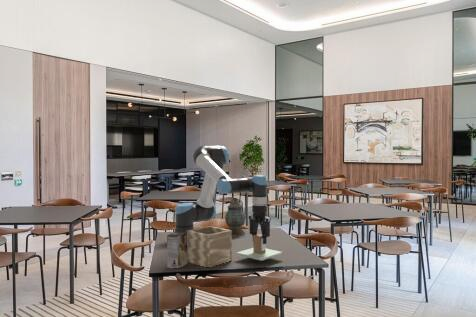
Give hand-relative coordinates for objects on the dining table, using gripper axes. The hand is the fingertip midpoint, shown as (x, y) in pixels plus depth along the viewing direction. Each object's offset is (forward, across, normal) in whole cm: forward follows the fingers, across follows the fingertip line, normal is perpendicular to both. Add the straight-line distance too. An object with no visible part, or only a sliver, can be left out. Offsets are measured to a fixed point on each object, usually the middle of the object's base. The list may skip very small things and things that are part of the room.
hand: (259, 249), depth 191 cm
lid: (+3, 0, 0) cm, 3 cm away
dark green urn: (+6, -54, +37) cm, 66 cm away
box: (+6, -17, -20) cm, 27 cm away
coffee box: (+6, -23, -36) cm, 43 cm away
